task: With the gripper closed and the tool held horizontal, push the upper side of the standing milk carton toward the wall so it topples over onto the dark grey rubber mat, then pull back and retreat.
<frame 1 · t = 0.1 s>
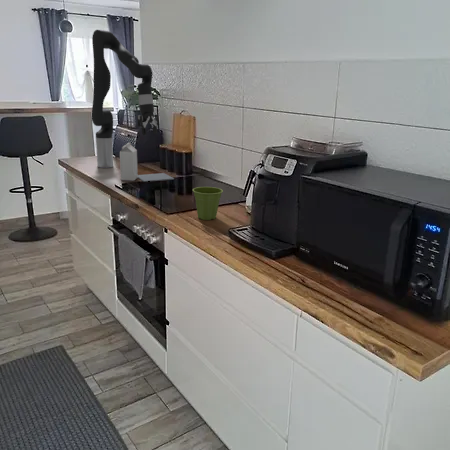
hand: (150, 134, 240), 22 cm above the worktop, tool pointing down, fingers open, 8 cm apart
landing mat: (154, 177, 240), on the worktop
milk carton: (129, 179, 235), on the worktop
plant pot: (207, 218, 175), on the worktop
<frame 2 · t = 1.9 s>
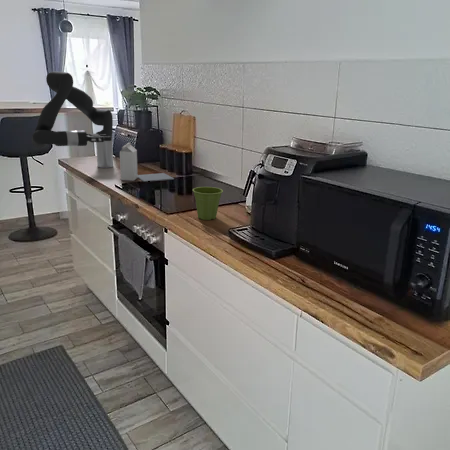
hand: (109, 137, 223), 22 cm above the worktop, tool horizontal, fingers open, 7 cm apart
nothing on the worktop moved.
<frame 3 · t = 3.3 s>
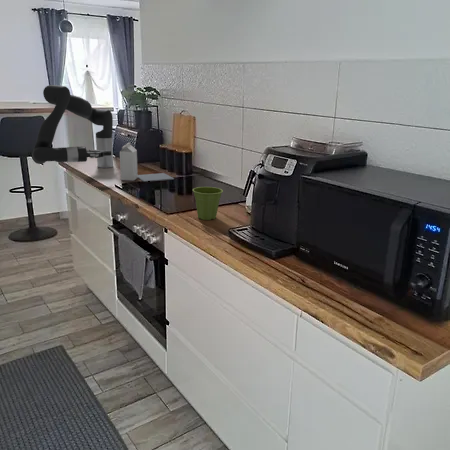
hand: (110, 153, 226), 14 cm above the worktop, tool horizontal, fingers closed
nothing on the worktop moved.
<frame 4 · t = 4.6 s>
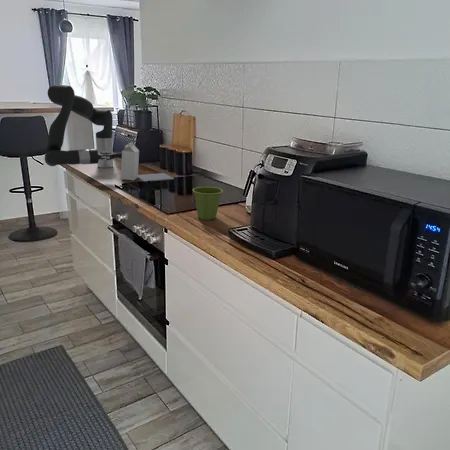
hand: (121, 154, 229), 13 cm above the worktop, tool horizontal, fingers closed
milk carton: (129, 179, 235), on the worktop, touching gripper
everything else where it was.
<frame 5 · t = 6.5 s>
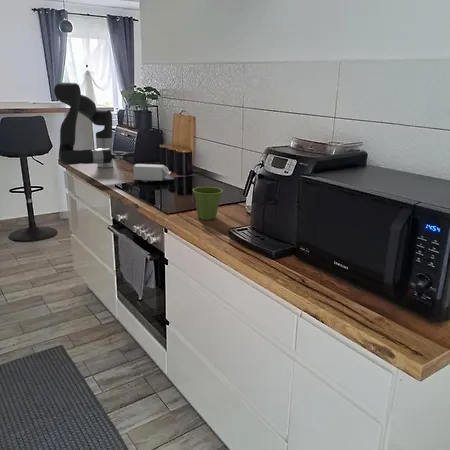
hand: (134, 154, 232), 13 cm above the worktop, tool horizontal, fingers closed
milk carton: (134, 171, 234), point 4 cm above the worktop, touching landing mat
everything else where it was.
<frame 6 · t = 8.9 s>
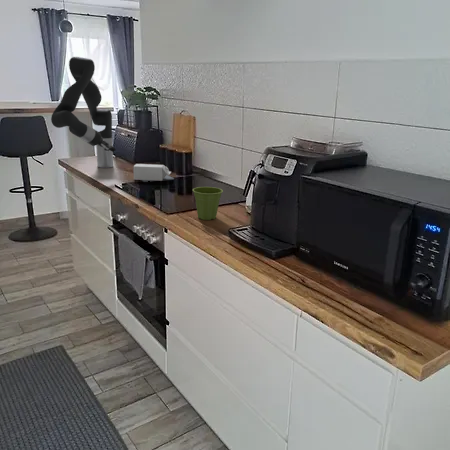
hand: (114, 150, 232), 15 cm above the worktop, tool tilted 60°, fingers closed
nothing on the worktop moved.
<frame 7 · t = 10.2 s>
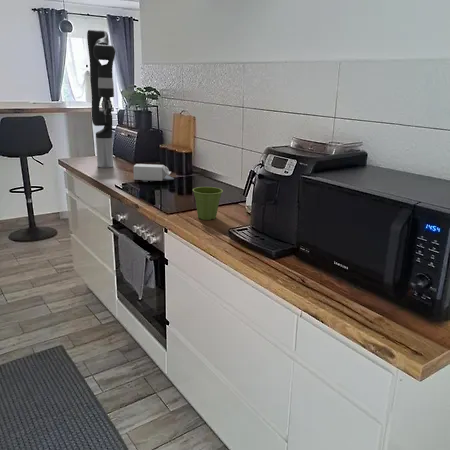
hand: (107, 122, 229), 29 cm above the worktop, tool pointing down, fingers closed
nothing on the worktop moved.
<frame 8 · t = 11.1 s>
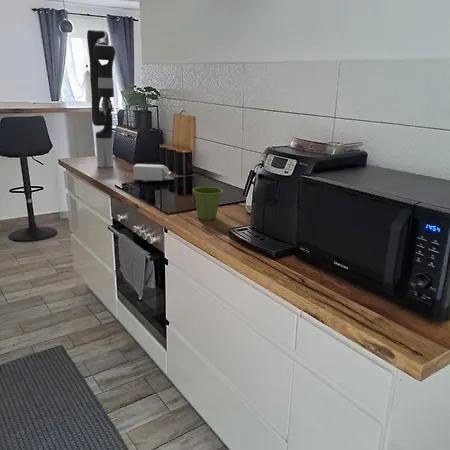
hand: (107, 122, 229), 29 cm above the worktop, tool pointing down, fingers closed
nothing on the worktop moved.
at the end: milk carton tilted 90°; milk carton touching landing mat; the gripper is holding nothing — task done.
